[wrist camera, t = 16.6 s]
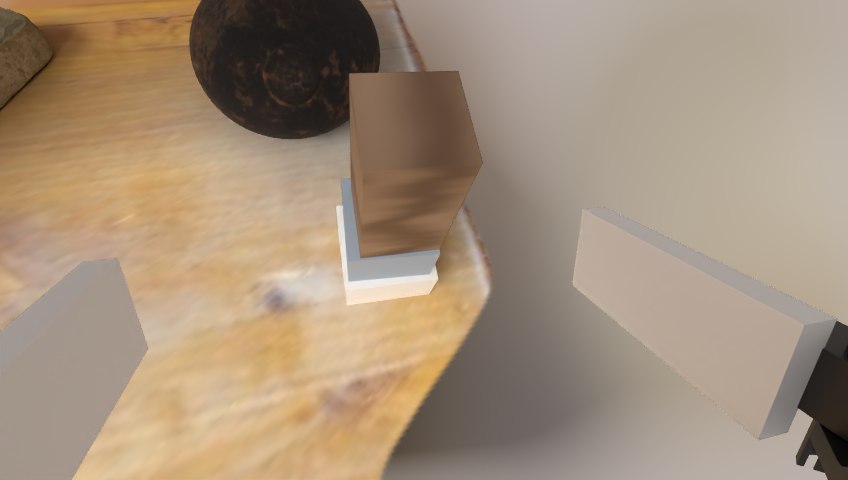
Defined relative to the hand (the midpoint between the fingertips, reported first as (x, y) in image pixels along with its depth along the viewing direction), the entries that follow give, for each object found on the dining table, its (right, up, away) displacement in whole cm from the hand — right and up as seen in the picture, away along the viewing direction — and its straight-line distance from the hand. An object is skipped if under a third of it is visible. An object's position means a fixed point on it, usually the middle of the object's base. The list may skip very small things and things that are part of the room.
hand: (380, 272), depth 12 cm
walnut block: (-1, +3, +20) cm, 20 cm away
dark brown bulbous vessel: (-13, +17, +35) cm, 41 cm away
